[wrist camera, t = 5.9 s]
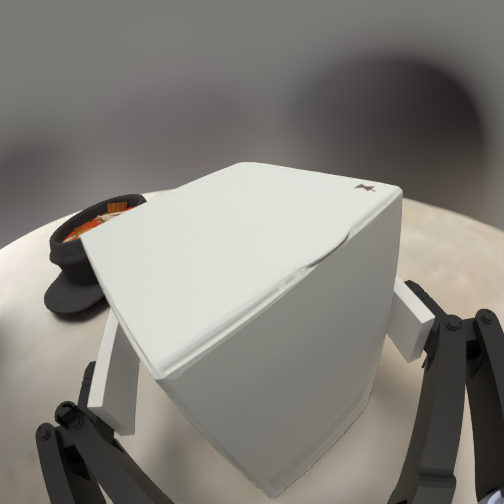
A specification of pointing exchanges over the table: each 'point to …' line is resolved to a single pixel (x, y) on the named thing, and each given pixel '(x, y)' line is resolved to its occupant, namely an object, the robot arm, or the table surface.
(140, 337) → the supplement box
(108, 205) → the casserole
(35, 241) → the table surface
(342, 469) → the table surface
